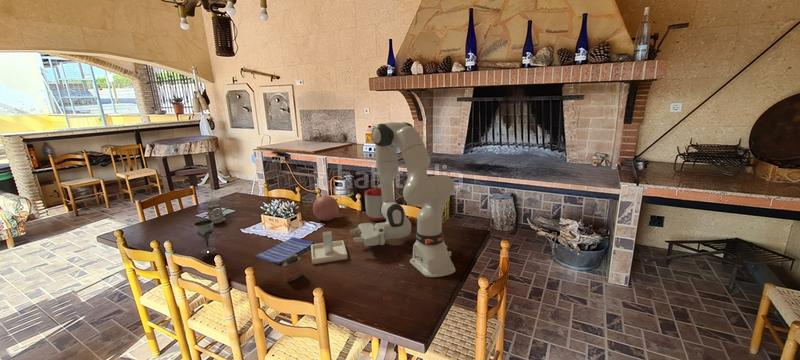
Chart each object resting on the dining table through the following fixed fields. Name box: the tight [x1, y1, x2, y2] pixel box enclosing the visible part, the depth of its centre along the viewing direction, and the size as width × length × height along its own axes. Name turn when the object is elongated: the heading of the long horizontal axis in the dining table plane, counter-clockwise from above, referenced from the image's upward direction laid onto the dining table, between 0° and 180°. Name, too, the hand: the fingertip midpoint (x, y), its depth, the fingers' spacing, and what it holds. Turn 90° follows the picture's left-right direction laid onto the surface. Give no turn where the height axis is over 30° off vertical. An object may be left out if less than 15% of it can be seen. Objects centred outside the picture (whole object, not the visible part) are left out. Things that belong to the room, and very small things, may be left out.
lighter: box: [282, 254, 303, 283], centre depth 141 cm, size 8×3×10 cm, turn 141°
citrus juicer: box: [363, 186, 386, 222], centre depth 205 cm, size 16×17×20 cm
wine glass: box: [193, 219, 217, 255], centre depth 167 cm, size 8×8×15 cm
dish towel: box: [254, 236, 315, 266], centre depth 166 cm, size 17×24×3 cm
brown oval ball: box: [312, 195, 340, 222], centre depth 206 cm, size 15×20×15 cm
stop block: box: [322, 230, 333, 255], centre depth 161 cm, size 4×4×10 cm
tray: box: [310, 239, 348, 265], centre depth 162 cm, size 16×16×2 cm
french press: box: [204, 181, 227, 224], centre depth 207 cm, size 10×12×25 cm
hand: (351, 235), depth 163 cm, fingers open, 8 cm apart
